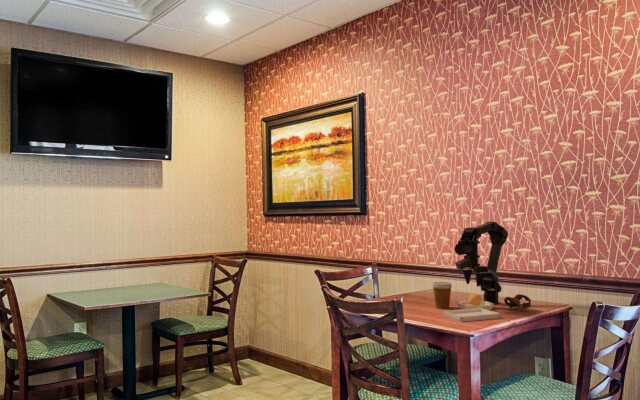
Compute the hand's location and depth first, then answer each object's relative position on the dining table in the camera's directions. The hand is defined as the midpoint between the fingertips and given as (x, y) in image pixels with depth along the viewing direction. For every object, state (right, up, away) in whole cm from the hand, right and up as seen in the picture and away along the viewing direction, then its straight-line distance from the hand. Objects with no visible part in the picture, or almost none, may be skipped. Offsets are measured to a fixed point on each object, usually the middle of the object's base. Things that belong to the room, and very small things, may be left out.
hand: (473, 285), depth 265 cm
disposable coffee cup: (-14, -11, +2) cm, 19 cm away
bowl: (+1, -11, -1) cm, 11 cm away
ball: (+1, -7, 0) cm, 7 cm away
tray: (-7, -11, -22) cm, 25 cm away
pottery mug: (+19, -11, -7) cm, 23 cm away
